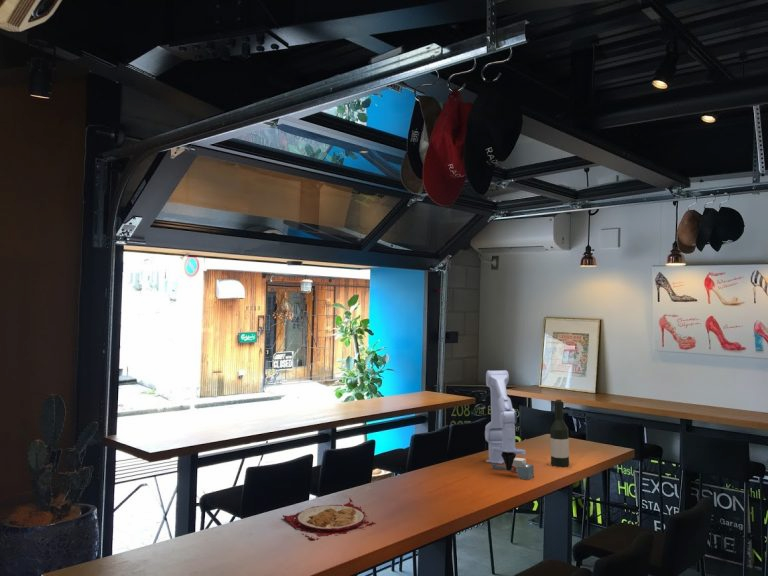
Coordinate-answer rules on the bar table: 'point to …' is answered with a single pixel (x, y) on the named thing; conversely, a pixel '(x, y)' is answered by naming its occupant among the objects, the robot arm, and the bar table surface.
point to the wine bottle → (559, 438)
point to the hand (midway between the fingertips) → (509, 469)
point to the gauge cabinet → (525, 471)
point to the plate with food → (329, 519)
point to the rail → (499, 467)
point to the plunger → (514, 469)
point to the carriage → (519, 461)
